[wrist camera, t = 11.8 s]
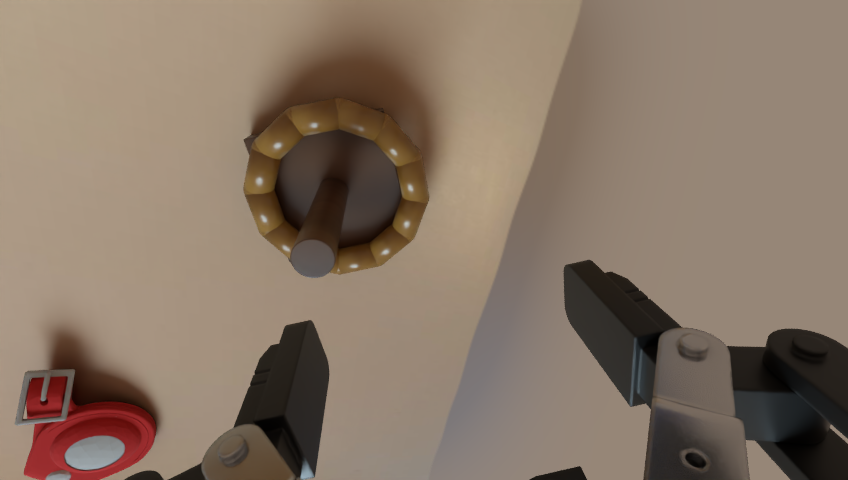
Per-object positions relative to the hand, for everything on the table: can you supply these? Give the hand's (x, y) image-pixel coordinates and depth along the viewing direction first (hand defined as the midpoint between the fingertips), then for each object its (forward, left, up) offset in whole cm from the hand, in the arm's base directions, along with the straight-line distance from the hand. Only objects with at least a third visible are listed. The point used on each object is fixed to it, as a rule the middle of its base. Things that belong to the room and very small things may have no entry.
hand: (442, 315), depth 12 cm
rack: (0, -5, -18) cm, 18 cm away
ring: (0, -5, -15) cm, 16 cm away
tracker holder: (+15, -30, -18) cm, 38 cm away
